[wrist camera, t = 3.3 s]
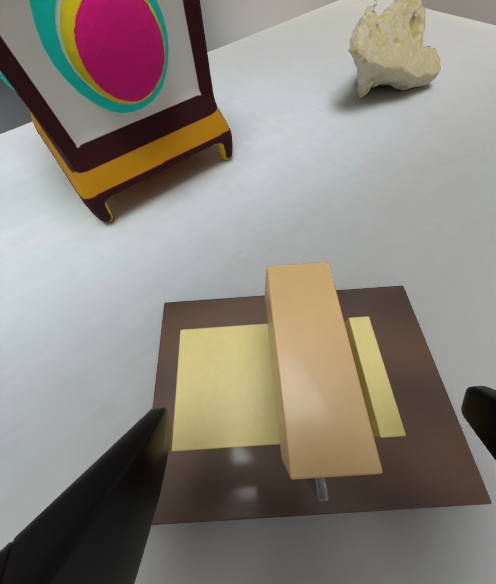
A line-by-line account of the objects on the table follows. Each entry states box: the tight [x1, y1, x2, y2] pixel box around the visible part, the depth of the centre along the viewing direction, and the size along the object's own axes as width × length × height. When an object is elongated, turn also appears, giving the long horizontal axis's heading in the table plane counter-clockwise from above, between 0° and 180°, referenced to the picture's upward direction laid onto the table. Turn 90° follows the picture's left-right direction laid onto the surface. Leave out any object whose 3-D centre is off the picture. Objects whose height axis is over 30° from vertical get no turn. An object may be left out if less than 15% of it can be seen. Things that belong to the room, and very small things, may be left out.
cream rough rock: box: [349, 0, 441, 98], centre depth 33 cm, size 15×7×15 cm
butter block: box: [172, 324, 280, 451], centre depth 14 cm, size 6×9×4 cm, turn 93°
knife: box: [265, 262, 383, 501], centre depth 11 cm, size 8×2×9 cm, turn 3°
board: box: [152, 286, 491, 525], centre depth 17 cm, size 14×20×1 cm
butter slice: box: [344, 317, 406, 438], centre depth 14 cm, size 6×1×4 cm, turn 3°
